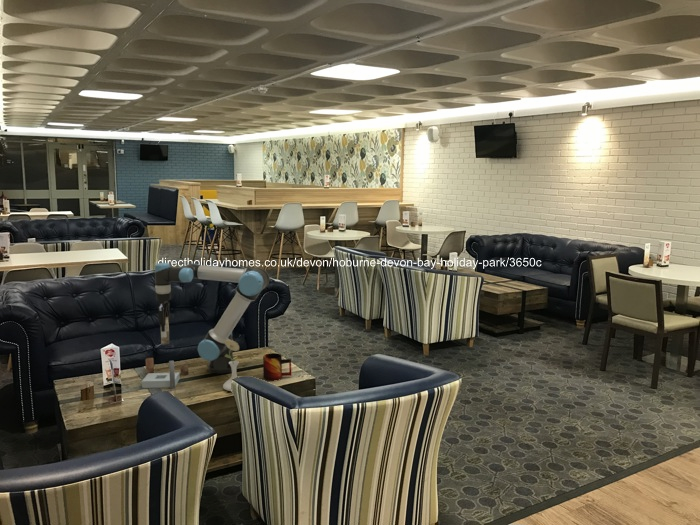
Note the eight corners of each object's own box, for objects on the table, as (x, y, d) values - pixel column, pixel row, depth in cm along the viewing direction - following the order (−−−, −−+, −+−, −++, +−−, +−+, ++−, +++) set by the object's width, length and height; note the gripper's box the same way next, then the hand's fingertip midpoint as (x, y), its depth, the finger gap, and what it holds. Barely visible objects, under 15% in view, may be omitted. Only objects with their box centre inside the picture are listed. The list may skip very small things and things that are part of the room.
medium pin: (155, 374, 300) (154, 357, 299) (153, 376, 296) (152, 360, 295) (147, 374, 300) (146, 358, 299) (145, 376, 296) (144, 360, 295)
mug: (292, 377, 295) (291, 355, 293) (268, 382, 288) (267, 359, 286) (284, 372, 303) (284, 351, 302) (260, 376, 296) (260, 355, 294)
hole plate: (181, 378, 293) (180, 353, 291) (174, 389, 278) (173, 362, 276) (148, 379, 291) (147, 353, 289) (140, 390, 277) (138, 362, 275)
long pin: (170, 342, 298) (169, 316, 296) (168, 344, 294) (167, 318, 292) (162, 342, 298) (161, 316, 296) (160, 344, 294) (159, 318, 292)
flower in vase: (250, 389, 278) (249, 340, 275) (231, 394, 271) (229, 345, 267) (236, 382, 288) (234, 335, 284) (216, 388, 280) (215, 339, 276)
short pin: (189, 373, 302) (188, 364, 301) (187, 375, 298) (187, 366, 297) (181, 373, 301) (181, 364, 301) (179, 375, 297) (179, 366, 297)
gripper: (160, 289, 300) (162, 331, 304) (151, 295, 283) (153, 340, 287) (174, 289, 301) (176, 331, 304) (165, 295, 284) (167, 340, 287)
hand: (165, 335), depth 295 cm, fingers closed on long pin, 4 cm apart
